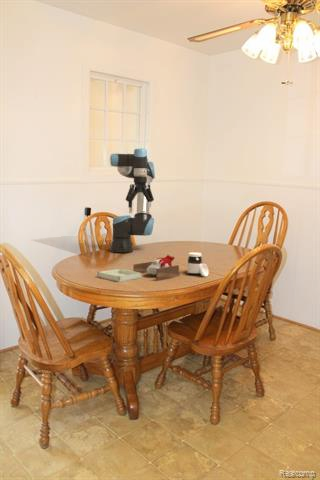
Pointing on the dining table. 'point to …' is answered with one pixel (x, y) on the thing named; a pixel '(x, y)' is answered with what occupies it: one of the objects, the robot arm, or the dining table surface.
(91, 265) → the dining table surface
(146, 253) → the dining table surface
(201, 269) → the spread jar
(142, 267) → the walnut holder
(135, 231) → the robot arm
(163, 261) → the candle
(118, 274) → the sage tray
